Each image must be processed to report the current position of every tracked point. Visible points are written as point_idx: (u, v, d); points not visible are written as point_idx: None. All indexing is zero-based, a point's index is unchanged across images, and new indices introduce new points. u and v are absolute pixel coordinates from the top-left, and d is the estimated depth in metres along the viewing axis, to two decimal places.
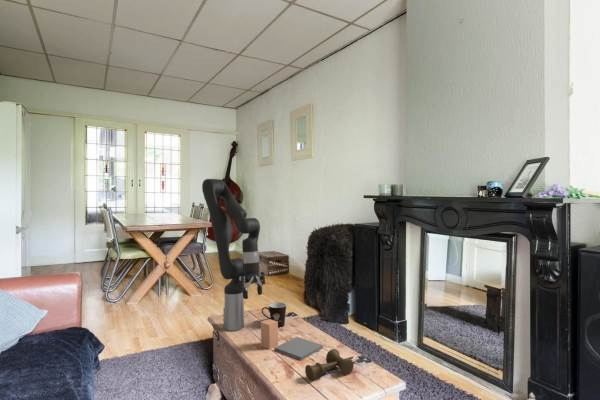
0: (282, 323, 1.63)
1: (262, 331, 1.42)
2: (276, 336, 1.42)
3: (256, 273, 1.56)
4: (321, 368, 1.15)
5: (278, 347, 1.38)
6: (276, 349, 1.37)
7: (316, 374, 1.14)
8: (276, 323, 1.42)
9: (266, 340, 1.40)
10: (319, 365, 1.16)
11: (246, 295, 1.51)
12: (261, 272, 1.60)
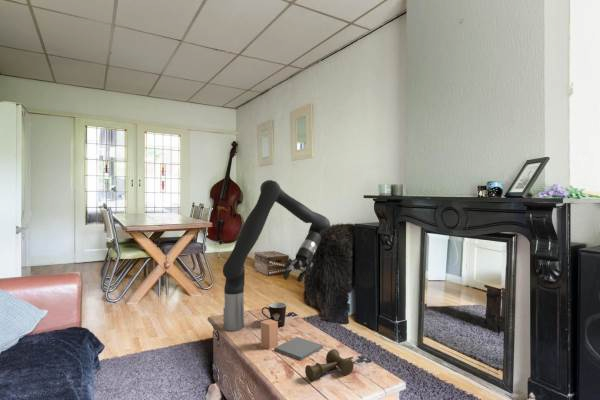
0: (282, 323, 1.63)
1: (262, 331, 1.42)
2: (276, 336, 1.42)
3: None
4: (321, 368, 1.15)
5: (278, 347, 1.38)
6: (276, 349, 1.37)
7: (316, 374, 1.14)
8: (276, 323, 1.42)
9: (266, 340, 1.40)
10: (319, 365, 1.16)
11: None
12: None
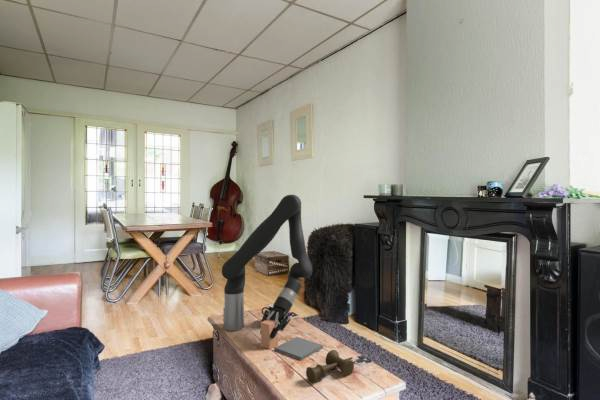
0: None
1: (262, 331, 1.41)
2: (276, 336, 1.42)
3: None
4: (322, 370, 1.14)
5: (278, 347, 1.38)
6: (276, 349, 1.37)
7: (318, 376, 1.13)
8: None
9: (266, 340, 1.40)
10: (320, 367, 1.15)
11: None
12: None
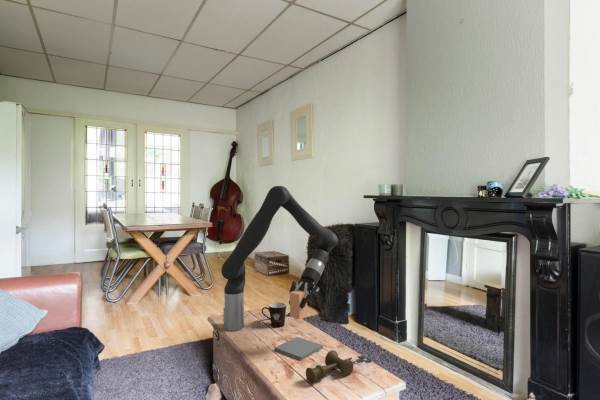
0: (282, 323, 1.63)
1: (291, 301, 1.38)
2: (306, 306, 1.38)
3: None
4: (322, 370, 1.14)
5: (278, 347, 1.38)
6: (276, 349, 1.37)
7: (317, 377, 1.12)
8: None
9: (295, 310, 1.36)
10: (320, 367, 1.14)
11: None
12: None
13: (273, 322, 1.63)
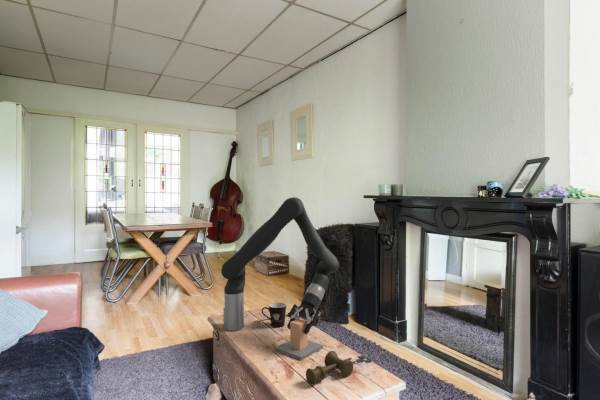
0: (282, 323, 1.63)
1: (291, 331, 1.38)
2: (306, 336, 1.38)
3: None
4: (322, 371, 1.13)
5: (278, 347, 1.38)
6: (276, 349, 1.37)
7: (318, 378, 1.12)
8: (306, 323, 1.38)
9: (296, 340, 1.36)
10: (320, 368, 1.14)
11: None
12: None
13: (273, 322, 1.63)
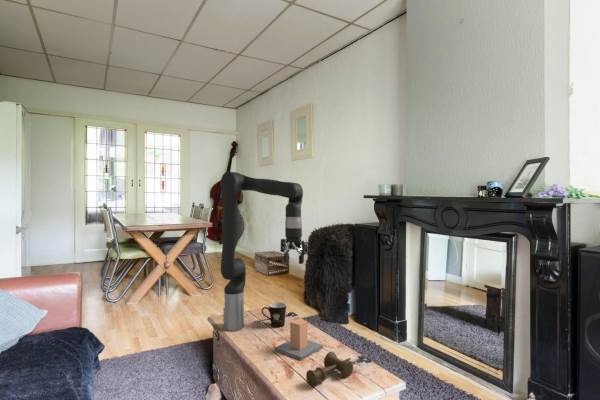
0: (282, 323, 1.63)
1: (291, 331, 1.38)
2: (306, 336, 1.38)
3: None
4: (323, 372, 1.12)
5: (278, 347, 1.38)
6: (276, 349, 1.37)
7: (318, 379, 1.11)
8: (306, 323, 1.38)
9: (296, 340, 1.36)
10: (321, 369, 1.13)
11: None
12: (284, 239, 1.56)
13: (273, 322, 1.63)
